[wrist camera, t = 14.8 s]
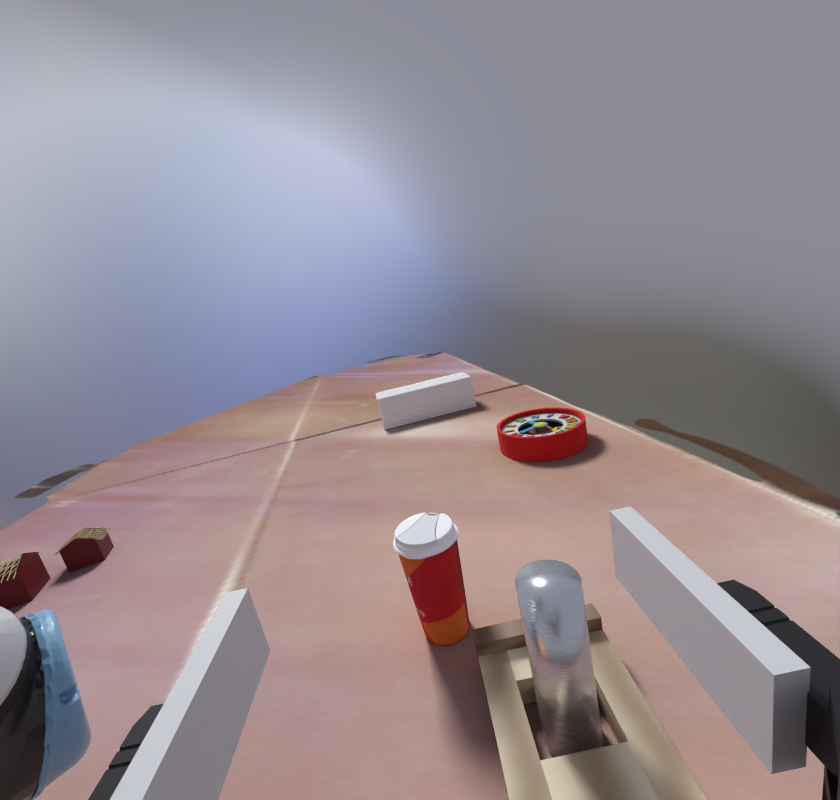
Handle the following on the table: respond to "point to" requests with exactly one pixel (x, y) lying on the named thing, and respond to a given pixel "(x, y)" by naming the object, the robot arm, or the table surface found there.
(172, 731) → the robot arm
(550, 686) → the brushed metal cylinder
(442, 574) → the paper cup
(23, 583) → the toy houses
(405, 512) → the table surface
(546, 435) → the toy clock
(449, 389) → the stack of papers
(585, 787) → the frame
